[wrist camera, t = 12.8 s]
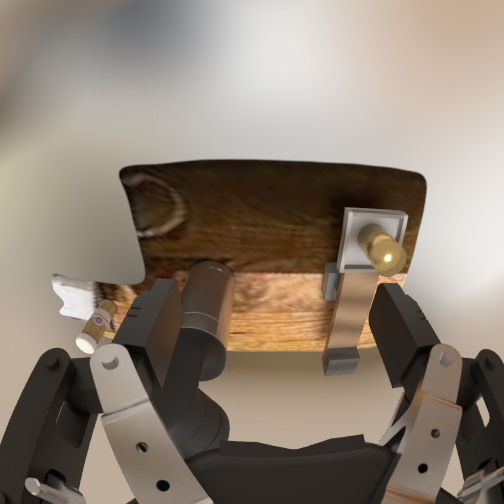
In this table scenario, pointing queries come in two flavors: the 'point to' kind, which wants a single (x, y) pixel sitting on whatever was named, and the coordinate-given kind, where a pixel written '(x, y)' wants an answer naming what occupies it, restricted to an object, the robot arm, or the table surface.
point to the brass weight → (381, 249)
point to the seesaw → (355, 287)
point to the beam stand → (330, 281)
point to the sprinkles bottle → (96, 326)
